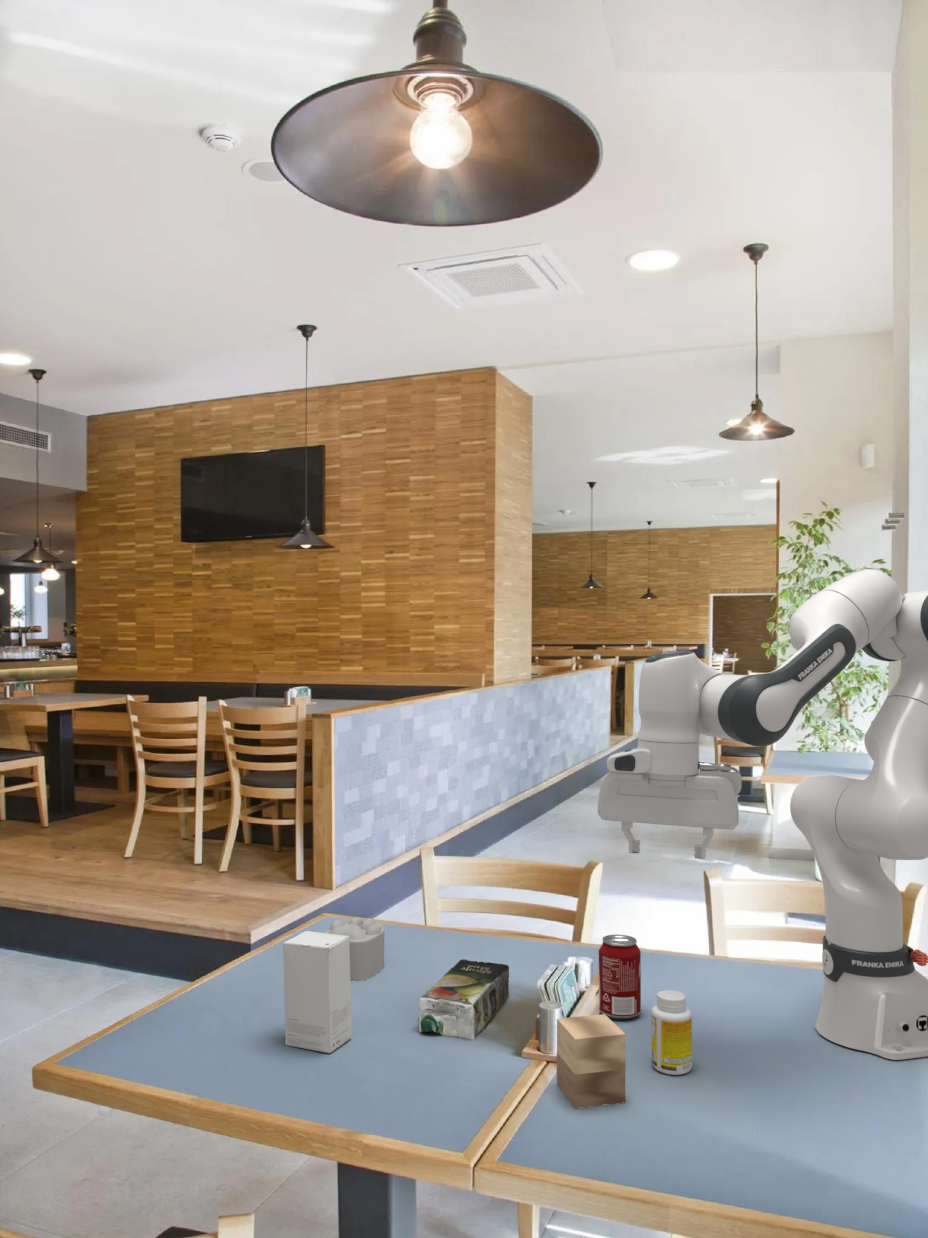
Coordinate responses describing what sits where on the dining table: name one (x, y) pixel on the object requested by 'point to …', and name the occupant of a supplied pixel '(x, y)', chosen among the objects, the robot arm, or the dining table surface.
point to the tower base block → (590, 1086)
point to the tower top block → (591, 1044)
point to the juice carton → (464, 999)
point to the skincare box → (317, 991)
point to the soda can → (619, 977)
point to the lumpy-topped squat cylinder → (362, 946)
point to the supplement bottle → (671, 1033)
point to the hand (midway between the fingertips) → (666, 855)
